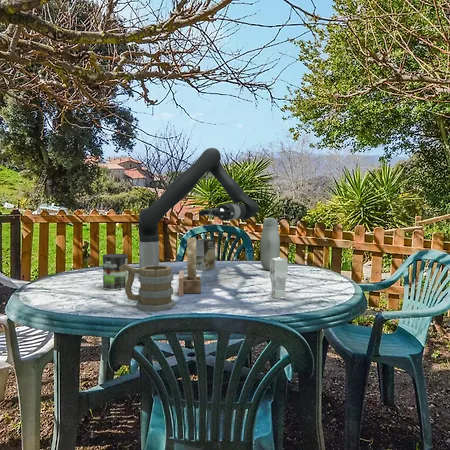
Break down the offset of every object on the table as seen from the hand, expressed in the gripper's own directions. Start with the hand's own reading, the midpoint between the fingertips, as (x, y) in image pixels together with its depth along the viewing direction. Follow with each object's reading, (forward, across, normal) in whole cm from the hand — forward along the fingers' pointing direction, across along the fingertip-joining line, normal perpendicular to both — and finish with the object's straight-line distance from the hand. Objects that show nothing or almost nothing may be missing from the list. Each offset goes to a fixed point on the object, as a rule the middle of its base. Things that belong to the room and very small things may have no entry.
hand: (207, 213), depth 181 cm
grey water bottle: (-51, +2, +33) cm, 61 cm away
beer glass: (-1, +35, +31) cm, 47 cm away
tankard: (+39, +3, +31) cm, 50 cm away
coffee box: (-33, -27, +33) cm, 54 cm away
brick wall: (+14, -2, +31) cm, 35 cm away
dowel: (+11, +1, +31) cm, 33 cm away
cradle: (+11, +1, +31) cm, 33 cm away
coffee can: (+26, -28, +32) cm, 50 cm away
